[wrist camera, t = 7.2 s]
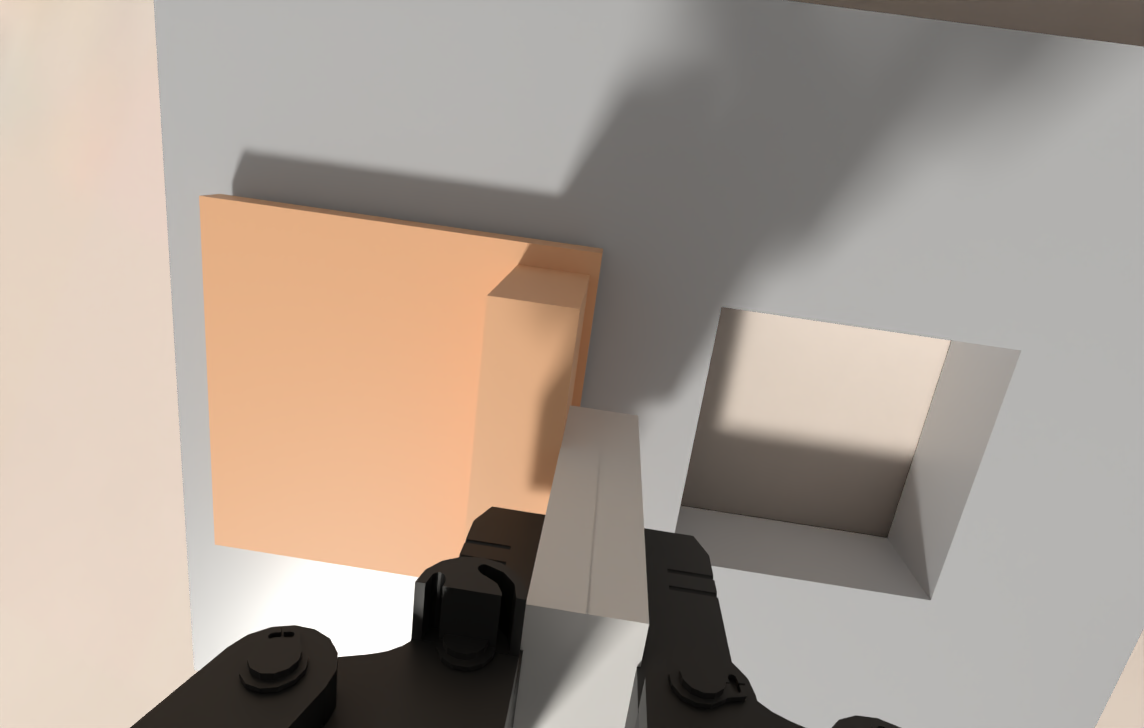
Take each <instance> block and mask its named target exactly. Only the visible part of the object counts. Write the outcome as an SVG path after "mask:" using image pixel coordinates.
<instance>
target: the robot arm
mask: <svg viewBox="0 0 1144 728" xmlns="http://www.w3.org/2000/svg"><path fill="white" fill-rule="evenodd" d="M130 728H805V727H803V726H801V725H798V724H796V723H794V722H791V721H789V720H787V719H785V718H783V717H781V716H779V715H778V714H776V713H774V712H772V711H770V710H769V709H768V708H766V707H765V706H764V705H762V704H761V703H760V702H758V701H757V698H756V694H755V692H754V690H753V688H752V686H751V684H750V682H749V680H748V678H747V677H746V676H745V675H744V674H743V673H742V672H741V671H740V670H739V669H738V668H737V667H736V666H735V665H734V664H733V663H732V661H731V656H730V651H729V647H728V642H727V637H726V632H725V628H724V623H723V618H722V614H721V609H720V604H719V600H718V597H717V590H716V585H715V581H714V580H713V571H712V567H711V562H710V557H709V555H708V553H707V552H706V551H705V550H704V548H703V547H702V546H701V545H700V544H699V542H698V541H697V540H696V539H695V537H694V536H691V535H684V534H678V533H672V532H665V531H659V530H653V529H646V528H644V517H643V498H642V479H641V460H640V442H639V423H638V416H637V415H631V414H624V413H618V412H611V411H604V410H598V409H591V408H585V407H578V406H571V405H570V408H569V412H568V417H567V422H566V426H565V431H564V435H563V440H562V445H561V448H560V452H559V456H558V461H557V465H556V470H555V474H554V479H553V483H552V488H551V492H550V497H549V501H548V506H547V510H546V515H544V514H537V513H531V512H524V511H518V510H512V509H505V508H499V507H493V506H492V507H491V508H489V509H488V510H487V511H485V512H484V513H483V514H481V515H480V516H479V517H477V518H476V519H475V520H474V521H473V523H472V526H471V528H470V530H469V533H468V535H467V538H466V542H465V543H464V545H463V547H462V550H461V552H460V555H459V557H458V558H453V559H448V560H443V561H441V562H439V563H437V564H435V565H433V566H431V567H429V568H427V569H425V571H424V572H423V573H422V574H421V575H420V577H419V578H418V579H417V580H416V581H415V590H414V605H413V620H412V635H411V641H410V642H408V643H406V644H405V645H402V646H400V647H397V648H394V649H391V650H389V651H384V652H378V653H373V654H364V655H353V656H342V657H338V652H337V650H336V648H335V646H334V644H333V643H332V641H331V639H330V638H329V637H327V636H325V635H324V634H322V633H321V632H319V631H317V630H316V629H312V628H307V627H302V626H297V625H288V626H275V627H269V628H266V629H263V630H260V631H257V632H254V633H251V634H248V635H246V636H245V637H243V638H241V639H240V640H238V641H237V642H235V643H233V644H232V645H230V646H228V647H227V648H226V649H225V650H223V651H222V652H221V653H220V654H218V655H217V656H216V657H215V658H214V659H212V660H211V661H210V662H209V663H208V664H206V665H205V666H204V667H203V668H202V669H200V670H199V671H198V672H197V673H196V674H194V675H193V676H192V677H191V678H190V679H188V680H187V681H186V682H185V683H183V684H182V685H181V686H180V687H179V688H177V689H176V690H175V691H174V692H173V693H171V694H170V695H169V696H168V697H167V698H165V699H164V700H163V701H162V702H161V703H159V704H158V705H157V706H156V707H155V708H153V709H152V710H151V711H150V712H148V713H147V714H146V715H145V716H144V717H142V718H141V719H140V720H139V721H138V722H136V723H135V724H134V725H133V726H132V727H130ZM832 728H901V727H898V726H896V725H893V724H891V723H888V722H886V721H883V720H881V719H879V718H873V717H865V716H858V715H855V716H851V717H847V718H843V719H839V720H838V721H837V722H836V723H835V724H834V725H833V727H832Z"/></svg>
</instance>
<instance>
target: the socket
mask: <svg viewBox="0 0 1144 728" xmlns="http://www.w3.org/2000/svg"><path fill="white" fill-rule="evenodd" d="M154 12H155V28H156V45H157V61H158V78H159V95H160V111H161V128H162V144H163V161H164V177H165V194H166V210H167V227H168V243H169V260H170V277H171V293H172V310H173V326H174V343H175V359H176V376H177V392H178V409H179V426H180V442H181V459H182V475H183V492H184V508H185V525H186V541H187V558H188V574H189V591H190V608H191V624H192V641H193V657H194V670H196V671H199V670H200V669H202V668H203V667H204V666H205V665H206V664H208V663H209V662H210V661H211V660H212V659H214V658H215V657H216V656H217V655H218V654H220V653H221V652H222V651H223V650H225V649H226V648H227V647H228V646H230V645H232V644H233V643H235V642H237V641H238V640H240V639H241V638H243V637H245V636H246V635H248V634H251V633H254V632H257V631H260V630H263V629H266V628H269V627H275V626H288V625H297V626H302V627H307V628H312V629H316V630H317V631H319V632H321V633H322V634H324V635H325V636H327V637H329V638H330V639H331V641H332V643H333V644H334V646H335V648H336V650H337V652H338V657H342V656H353V655H364V654H373V653H378V652H384V651H389V650H391V649H394V648H397V647H400V646H402V645H405V644H406V643H408V642H410V641H411V635H412V620H413V605H414V590H415V581H416V580H417V579H418V578H419V577H413V576H407V575H401V574H394V573H388V572H382V571H376V570H369V569H363V568H357V567H351V566H345V565H338V564H332V563H326V562H320V561H313V560H307V559H301V558H295V557H289V556H282V555H276V554H270V553H264V552H258V551H251V550H245V549H239V548H233V547H226V546H220V545H215V540H214V517H213V495H212V473H211V451H210V428H209V406H208V384H207V362H206V339H205V317H204V295H203V273H202V250H201V228H200V206H199V196H201V195H213V194H225V195H232V196H239V197H246V198H253V199H260V200H267V201H274V202H281V203H288V204H295V205H302V206H309V207H316V208H323V209H330V210H337V211H344V212H351V213H358V214H365V215H372V216H379V217H386V218H393V219H400V220H407V221H414V222H421V223H427V224H434V225H441V226H448V227H455V228H462V229H469V230H476V231H483V232H490V233H497V234H504V235H511V236H518V237H525V238H532V239H539V240H546V241H553V242H560V243H567V244H574V245H581V246H588V247H595V248H602V249H603V254H602V261H601V268H600V275H599V282H598V289H597V295H596V302H595V309H594V316H593V323H592V330H591V336H590V343H589V350H588V357H587V364H586V371H585V378H584V384H583V391H582V398H581V405H580V407H585V408H591V409H598V410H604V411H611V412H618V413H624V414H631V415H637V416H638V423H639V442H640V460H641V479H642V498H643V517H644V528H646V529H653V530H659V531H665V532H672V533H678V534H684V535H691V536H694V537H695V539H696V540H697V541H698V542H699V544H700V545H701V546H702V547H703V548H704V550H705V551H706V552H707V553H708V555H709V557H710V562H711V567H712V571H713V580H714V581H715V585H716V590H717V597H718V600H719V604H720V609H721V614H722V618H723V623H724V628H725V632H726V637H727V642H728V647H729V651H730V656H731V661H732V663H733V664H734V665H735V666H736V667H737V668H738V669H739V670H740V671H741V672H742V673H743V674H744V675H745V676H746V677H747V678H748V680H749V682H750V684H751V686H752V688H753V690H754V692H755V694H756V698H757V701H758V702H760V703H761V704H762V705H764V706H765V707H766V708H768V709H769V710H770V711H772V712H774V713H776V714H778V715H779V716H781V717H783V718H785V719H787V720H789V721H791V722H794V723H796V724H798V725H801V726H803V727H805V728H832V727H833V725H834V724H835V723H836V722H837V721H838V720H839V719H843V718H847V717H851V716H855V715H858V716H865V717H873V718H879V719H881V720H883V721H886V722H888V723H891V724H893V725H896V726H898V727H901V728H1095V726H1096V724H1097V722H1098V720H1099V718H1100V716H1101V714H1102V712H1103V710H1104V708H1105V706H1106V704H1107V702H1108V700H1109V698H1110V696H1111V694H1112V692H1113V690H1114V688H1115V686H1116V684H1117V682H1118V680H1119V678H1120V676H1121V673H1122V671H1123V669H1124V667H1125V665H1126V663H1127V661H1128V659H1129V657H1130V655H1131V653H1132V651H1133V649H1134V647H1135V645H1136V643H1137V641H1138V639H1139V637H1140V635H1141V633H1142V631H1143V629H1144V47H1143V46H1135V45H1127V44H1120V43H1112V42H1104V41H1097V40H1089V39H1081V38H1074V37H1066V36H1058V35H1051V34H1043V33H1035V32H1027V31H1020V30H1012V29H1004V28H997V27H989V26H981V25H974V24H966V23H958V22H950V21H943V20H935V19H927V18H920V17H912V16H904V15H897V14H889V13H881V12H874V11H866V10H858V9H850V8H843V7H835V6H827V5H820V4H812V3H804V2H797V1H789V0H154ZM722 307H725V308H732V309H739V310H745V311H752V312H759V313H766V314H773V315H780V316H787V317H794V318H800V319H807V320H814V321H821V322H828V323H835V324H842V325H849V326H856V327H862V328H869V329H876V330H883V331H890V332H897V333H904V334H911V335H917V336H924V337H931V338H938V339H945V340H952V341H951V344H950V347H949V350H948V353H947V356H946V359H945V362H944V365H943V368H942V371H941V374H940V377H939V381H938V384H937V387H936V390H935V393H934V396H933V399H932V402H931V405H930V408H929V411H928V414H927V417H926V420H925V424H924V427H923V430H922V433H921V436H920V439H919V442H918V445H917V448H916V451H915V454H914V457H913V460H912V463H911V467H910V470H909V473H908V476H907V479H906V482H905V485H904V488H903V491H902V494H901V497H900V500H899V503H898V506H897V509H896V513H895V516H894V519H893V522H892V525H891V528H890V531H889V534H888V537H887V538H885V537H879V536H872V535H866V534H859V533H853V532H846V531H840V530H834V529H827V528H821V527H814V526H808V525H801V524H795V523H788V522H782V521H776V520H769V519H763V518H756V517H750V516H743V515H737V514H731V513H724V512H718V511H711V510H705V509H698V508H692V507H685V506H680V505H681V500H682V495H683V491H684V486H685V481H686V476H687V471H688V467H689V462H690V457H691V452H692V447H693V443H694V438H695V433H696V428H697V423H698V419H699V414H700V409H701V404H702V399H703V395H704V390H705V385H706V380H707V375H708V370H709V366H710V361H711V356H712V351H713V346H714V342H715V337H716V332H717V327H718V322H719V318H720V313H721V308H722Z"/></svg>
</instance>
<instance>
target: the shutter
mask: <svg viewBox="0 0 1144 728" xmlns="http://www.w3.org/2000/svg"><path fill="white" fill-rule="evenodd" d="M199 206H200V228H201V250H202V273H203V295H204V317H205V339H206V362H207V384H208V406H209V428H210V451H211V473H212V495H213V517H214V540H215V545H220V546H226V547H233V548H239V549H245V550H251V551H258V552H264V553H270V554H276V555H282V556H289V557H295V558H301V559H307V560H313V561H320V562H326V563H332V564H338V565H345V566H351V567H357V568H363V569H369V570H376V571H382V572H388V573H394V574H401V575H407V576H413V577H420V575H421V574H422V573H423V572H424V571H425V569H427V568H429V567H431V566H433V565H435V564H437V563H439V562H441V561H443V560H448V559H453V558H458V557H459V555H460V552H461V550H462V547H463V545H464V543H465V542H466V538H467V535H468V533H469V530H470V528H471V526H472V523H473V521H474V520H475V519H476V518H477V517H479V516H480V515H481V514H483V513H484V512H485V511H487V510H488V509H489V508H491V507H492V506H493V507H499V508H505V509H512V510H518V511H524V512H531V513H537V514H544V515H546V510H547V506H548V501H549V497H550V492H551V488H552V483H553V479H554V474H555V470H556V465H557V461H558V456H559V452H560V448H561V445H562V440H563V435H564V431H565V426H566V422H567V417H568V412H569V408H570V405H571V406H578V407H580V405H581V398H582V391H583V384H584V378H585V371H586V364H587V357H588V350H589V343H590V336H591V330H592V323H593V316H594V309H595V302H596V295H597V289H598V282H599V275H600V268H601V261H602V254H603V249H602V248H595V247H588V246H581V245H574V244H567V243H560V242H553V241H546V240H539V239H532V238H525V237H518V236H511V235H504V234H497V233H490V232H483V231H476V230H469V229H462V228H455V227H448V226H441V225H434V224H427V223H421V222H414V221H407V220H400V219H393V218H386V217H379V216H372V215H365V214H358V213H351V212H344V211H337V210H330V209H323V208H316V207H309V206H302V205H295V204H288V203H281V202H274V201H267V200H260V199H253V198H246V197H239V196H232V195H225V194H213V195H201V196H199Z"/></svg>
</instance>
